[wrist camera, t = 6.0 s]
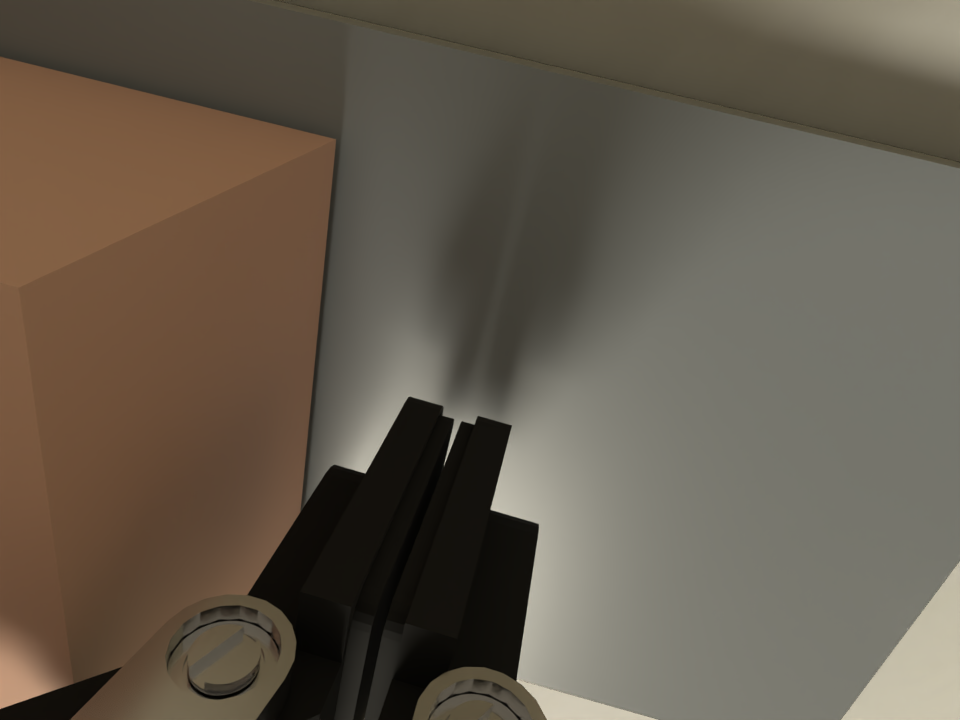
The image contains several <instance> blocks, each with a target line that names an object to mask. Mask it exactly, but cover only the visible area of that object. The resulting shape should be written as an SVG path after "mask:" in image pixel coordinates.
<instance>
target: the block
mask: <svg viewBox="0 0 960 720" xmlns="http://www.w3.org/2000/svg"><path fill="white" fill-rule="evenodd" d="M335 147H336V139H333V138H329V137H325V136H321V135H317V134H313V133H308V132H304V131H300V130H296V129H292V128H288V127H284V126H280V125H276V124H272V123H268V122H264V121H260V120H256V119H252V118H247V117H243V116H239V115H235V114H231V113H227V112H223V111H219V110H215V109H211V108H207V107H203V106H199V105H195V104H191V103H186V102H182V101H178V100H174V99H170V98H166V97H162V96H158V95H154V94H150V93H146V92H142V91H138V90H134V89H130V88H125V87H121V86H117V85H113V84H109V83H105V82H101V81H97V80H93V79H89V78H85V77H81V76H77V75H73V74H69V73H65V72H60V71H56V70H52V69H48V68H44V67H40V66H36V65H32V64H28V63H24V62H20V61H16V60H12V59H8V58H4V57H0V709H2V708H4V707H7V706H10V705H13V704H16V703H19V702H22V701H25V700H28V699H30V698H33V697H36V696H39V695H42V694H45V693H48V692H51V691H54V690H56V689H59V688H62V687H65V686H68V685H71V684H74V683H77V682H80V681H82V680H85V679H88V678H91V677H94V676H97V675H100V674H103V673H106V672H108V671H111V670H114V669H117V668H120V667H123V666H124V665H125V664H126V663H127V662H128V661H129V660H130V659H131V658H132V657H133V656H134V655H135V654H136V653H137V652H138V651H139V650H140V649H141V648H142V647H143V646H144V645H145V643H146V642H147V641H148V640H149V639H150V638H151V637H152V636H153V635H154V634H155V633H156V632H157V631H158V630H159V629H160V628H161V627H162V626H163V625H164V624H165V623H166V622H167V621H168V620H170V619H171V618H172V617H174V616H175V615H176V614H177V613H179V612H180V611H181V610H183V609H184V608H185V607H188V606H190V605H192V604H194V603H196V602H199V601H201V600H203V599H206V598H211V597H216V596H221V595H226V594H230V595H247V594H248V593H249V591H250V590H251V588H252V587H253V585H254V584H255V582H256V580H257V579H258V577H259V576H260V574H261V573H262V571H263V570H264V568H265V566H266V565H267V563H268V562H269V560H270V559H271V557H272V556H273V554H274V552H275V551H276V549H277V548H278V546H279V545H280V543H281V542H282V540H283V538H284V537H285V535H286V534H287V532H288V531H289V529H290V528H291V526H292V525H293V523H294V521H295V520H296V518H297V517H298V515H299V514H300V510H301V500H302V490H303V479H304V469H305V458H306V448H307V438H308V427H309V417H310V406H311V396H312V386H313V375H314V365H315V354H316V344H317V334H318V323H319V313H320V302H321V292H322V282H323V271H324V261H325V250H326V240H327V230H328V219H329V209H330V199H331V188H332V178H333V167H334V157H335Z"/></svg>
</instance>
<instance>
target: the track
mask: <svg viewBox="0 0 960 720" xmlns="http://www.w3.org/2000/svg"><path fill="white" fill-rule="evenodd" d="M0 57H4V58H8V59H12V60H16V61H20V62H24V63H28V64H32V65H36V66H40V67H44V68H48V69H52V70H56V71H60V72H65V73H69V74H73V75H77V76H81V77H85V78H89V79H93V80H97V81H101V82H105V83H109V84H113V85H117V86H121V87H125V88H130V89H134V90H138V91H142V92H146V93H150V94H154V95H158V96H162V97H166V98H170V99H174V100H178V101H182V102H186V103H191V104H195V105H199V106H203V107H207V108H211V109H215V110H219V111H223V112H227V113H231V114H235V115H239V116H243V117H247V118H252V119H256V120H260V121H264V122H268V123H272V124H276V125H280V126H284V127H288V128H292V129H296V130H300V131H304V132H308V133H313V134H317V135H321V136H325V137H329V138H333V139H336V147H335V157H334V167H333V178H332V188H331V199H330V209H329V219H328V230H327V240H326V250H325V261H324V271H323V282H322V292H321V302H320V313H319V323H318V334H317V344H316V354H315V365H314V375H313V386H312V396H311V406H310V417H309V427H308V438H307V448H306V458H305V469H304V479H303V490H302V500H301V510H300V512H301V511H302V509H303V507H304V506H305V504H306V503H307V501H308V500H309V498H310V497H311V495H312V493H313V492H314V490H315V489H316V487H317V486H318V484H319V483H320V481H321V479H322V478H323V476H324V475H325V473H326V472H327V471H328V469H329V468H330V467H331V466H333V465H338V466H341V467H345V468H348V469H352V470H355V471H358V472H362V473H365V474H366V472H367V470H368V468H369V466H370V465H371V463H372V461H373V459H374V457H375V456H376V454H377V452H378V450H379V448H380V447H381V445H382V443H383V441H384V439H385V438H386V436H387V434H388V432H389V430H390V429H391V427H392V425H393V423H394V421H395V419H396V418H397V416H398V414H399V412H400V410H401V409H402V407H403V405H404V403H405V401H406V400H407V398H408V397H413V398H417V399H420V400H424V401H427V402H431V403H434V404H438V405H441V406H443V407H444V409H443V415H442V416H446V417H449V418H453V419H454V425H453V429H452V433H451V438H450V442H449V446H448V450H447V455H446V459H445V462H446V460H447V457H448V454H449V452H450V449H451V447H452V444H453V441H454V439H455V436H456V434H457V431H458V429H459V426H460V423H461V421H463V422H467V423H471V424H474V425H475V422H476V419H477V416H481V417H484V418H488V419H491V420H495V421H498V422H502V423H505V424H509V425H512V427H511V431H510V435H509V439H508V443H507V447H506V451H505V455H504V459H503V463H502V467H501V471H500V474H499V478H498V482H497V486H496V490H495V494H494V498H493V502H492V506H491V510H493V511H496V512H500V513H503V514H507V515H510V516H513V517H517V518H520V519H524V520H527V521H531V522H534V523H537V524H539V532H538V540H537V546H536V553H535V560H534V566H533V573H532V580H531V586H530V593H529V600H528V607H527V613H526V620H525V627H524V633H523V640H522V647H521V653H520V660H519V667H518V673H517V680H520V681H524V682H527V683H531V684H534V685H538V686H541V687H545V688H549V689H552V690H556V691H559V692H563V693H566V694H570V695H573V696H577V697H580V698H584V699H587V700H591V701H594V702H598V703H601V704H605V705H609V706H612V707H616V708H619V709H623V710H626V711H630V712H633V713H637V714H640V715H644V716H647V717H651V718H654V719H658V720H841V719H842V718H843V716H844V715H845V714H846V712H847V711H848V710H849V708H850V707H851V706H852V704H853V703H854V702H855V700H856V699H857V698H858V696H859V695H860V694H861V692H862V691H863V689H864V688H865V687H866V685H867V684H868V683H869V681H870V680H871V679H872V677H873V676H874V675H875V673H876V672H877V671H878V669H879V668H880V667H881V665H882V664H883V663H884V661H885V660H886V659H887V657H888V656H889V655H890V653H891V652H892V651H893V649H894V648H895V647H896V645H897V644H898V643H899V641H900V640H901V639H902V637H903V636H904V635H905V633H906V632H907V631H908V629H909V628H910V627H911V625H912V624H913V623H914V621H915V620H916V619H917V617H918V616H919V615H920V613H921V612H922V611H923V609H924V608H925V607H926V605H927V604H928V603H929V601H930V600H931V599H932V597H933V596H934V595H935V593H936V592H937V591H938V589H939V588H940V587H941V585H942V584H943V583H944V581H945V580H946V579H947V577H948V576H949V575H950V573H951V572H952V571H953V569H954V568H955V567H956V565H957V564H958V563H959V561H960V162H957V161H953V160H949V159H944V158H940V157H936V156H932V155H927V154H923V153H919V152H915V151H910V150H906V149H902V148H898V147H894V146H889V145H885V144H881V143H877V142H872V141H868V140H864V139H860V138H856V137H851V136H847V135H843V134H839V133H834V132H830V131H826V130H822V129H817V128H813V127H809V126H805V125H801V124H796V123H792V122H788V121H784V120H779V119H775V118H771V117H767V116H762V115H758V114H754V113H750V112H746V111H741V110H737V109H733V108H729V107H724V106H720V105H716V104H712V103H707V102H703V101H699V100H695V99H691V98H686V97H682V96H678V95H674V94H669V93H665V92H661V91H657V90H653V89H648V88H644V87H640V86H636V85H631V84H627V83H623V82H619V81H614V80H610V79H606V78H602V77H598V76H593V75H589V74H585V73H581V72H576V71H572V70H568V69H564V68H559V67H555V66H551V65H547V64H543V63H538V62H534V61H530V60H526V59H521V58H517V57H513V56H509V55H504V54H500V53H496V52H492V51H488V50H483V49H479V48H475V47H471V46H466V45H462V44H458V43H454V42H450V41H445V40H441V39H437V38H433V37H428V36H424V35H420V34H416V33H411V32H407V31H403V30H399V29H395V28H390V27H386V26H382V25H378V24H373V23H369V22H365V21H361V20H356V19H352V18H348V17H344V16H340V15H335V14H331V13H327V12H323V11H318V10H314V9H310V8H306V7H301V6H297V5H293V4H289V3H285V2H280V1H276V0H0ZM444 465H445V463H444Z"/></svg>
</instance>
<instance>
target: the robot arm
mask: <svg viewBox="0 0 960 720" xmlns="http://www.w3.org/2000/svg"><path fill="white" fill-rule="evenodd" d="M443 409H444V407H443V406H441V405H438V404H434V403H431V402H427V401H424V400H420V399H417V398H413V397H408V398H407V400H406V401H405V403H404V405H403V407H402V409H401V410H400V412H399V414H398V416H397V418H396V419H395V421H394V423H393V425H392V427H391V429H390V430H389V432H388V434H387V436H386V438H385V439H384V441H383V443H382V445H381V447H380V448H379V450H378V452H377V454H376V456H375V457H374V459H373V461H372V463H371V465H370V466H369V468H368V470H367V472H366V474H365V473H362V472H358V471H355V470H352V469H348V468H345V467H341V466H338V465H333V466H331V467H330V468H329V469H328V471H327V472H326V473H325V475H324V476H323V478H322V479H321V481H320V483H319V484H318V486H317V487H316V489H315V490H314V492H313V493H312V495H311V497H310V498H309V500H308V501H307V503H306V504H305V506H304V507H303V509H302V511H301V512H300V514H299V515H298V517H297V518H296V520H295V521H294V523H293V525H292V526H291V528H290V529H289V531H288V532H287V534H286V535H285V537H284V538H283V540H282V542H281V543H280V545H279V546H278V548H277V549H276V551H275V552H274V554H273V556H272V557H271V559H270V560H269V562H268V563H267V565H266V566H265V568H264V570H263V571H262V573H261V574H260V576H259V577H258V579H257V580H256V582H255V584H254V585H253V587H252V588H251V590H250V591H249V593H248V594H247V595H230V594H226V595H221V596H216V597H211V598H206V599H203V600H201V601H199V602H196V603H194V604H192V605H190V606H188V607H185V608H184V609H183V610H181V611H180V612H179V613H177V614H176V615H175V616H174V617H172V618H171V619H170V620H168V621H167V622H166V623H165V624H164V625H163V626H162V627H161V628H160V629H159V630H158V631H157V632H156V633H155V634H154V635H153V636H152V637H151V638H150V639H149V640H148V641H147V642H146V643H145V645H144V646H143V647H142V648H141V649H140V650H139V651H138V652H137V653H136V654H135V655H134V656H133V657H132V658H131V659H130V660H129V661H128V662H127V663H126V664H125V665H124V666H123V667H120V668H117V669H114V670H111V671H108V672H106V673H103V674H100V675H97V676H94V677H91V678H88V679H85V680H82V681H80V682H77V683H74V684H71V685H68V686H65V687H62V688H59V689H56V690H54V691H51V692H48V693H45V694H42V695H39V696H36V697H33V698H30V699H28V700H25V701H22V702H19V703H16V704H13V705H10V706H7V707H4V708H2V709H0V720H547V719H546V717H545V716H544V714H543V712H542V710H541V708H540V706H539V704H538V703H537V701H536V699H535V698H534V697H533V696H532V695H531V694H530V693H529V692H528V691H527V690H526V689H525V688H524V687H523V686H522V685H521V684H520V683H518V682H517V681H516V680H517V673H518V667H519V660H520V653H521V647H522V640H523V633H524V627H525V620H526V613H527V607H528V600H529V593H530V586H531V580H532V573H533V566H534V560H535V553H536V546H537V540H538V532H539V524H537V523H534V522H531V521H527V520H524V519H520V518H517V517H513V516H510V515H507V514H503V513H500V512H496V511H493V510H491V506H492V502H493V498H494V494H495V490H496V486H497V482H498V478H499V474H500V471H501V467H502V463H503V459H504V455H505V451H506V447H507V443H508V439H509V435H510V431H511V427H512V425H509V424H505V423H502V422H498V421H495V420H491V419H488V418H484V417H481V416H477V419H476V422H475V425H474V424H471V423H467V422H463V421H461V423H460V426H459V429H458V431H457V434H456V436H455V439H454V441H453V444H452V447H451V449H450V452H449V454H448V457H447V460H446V462H445V459H446V455H447V450H448V446H449V442H450V438H451V433H452V429H453V425H454V419H453V418H449V417H446V416H442V415H443ZM444 463H445V465H444Z"/></svg>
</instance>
